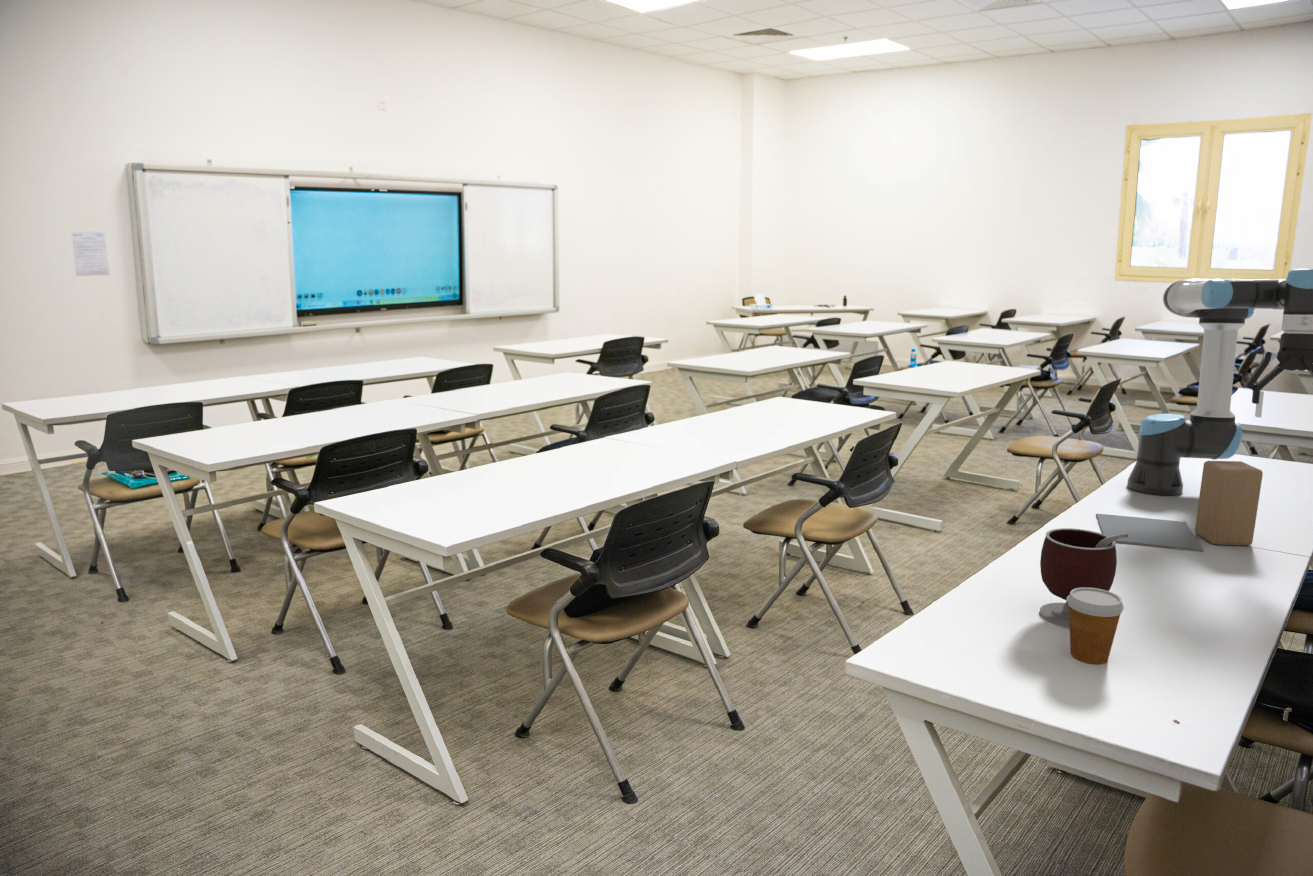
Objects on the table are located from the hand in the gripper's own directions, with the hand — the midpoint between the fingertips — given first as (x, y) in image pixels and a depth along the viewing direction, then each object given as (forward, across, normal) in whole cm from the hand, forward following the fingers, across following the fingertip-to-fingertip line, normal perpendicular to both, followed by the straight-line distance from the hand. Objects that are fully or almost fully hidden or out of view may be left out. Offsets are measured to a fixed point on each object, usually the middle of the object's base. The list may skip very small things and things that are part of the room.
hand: (1290, 418), depth 221 cm
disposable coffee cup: (+39, -49, -86) cm, 106 cm away
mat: (+32, -29, -1) cm, 43 cm away
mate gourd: (+37, -50, -68) cm, 92 cm away
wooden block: (+32, -12, 0) cm, 34 cm away
